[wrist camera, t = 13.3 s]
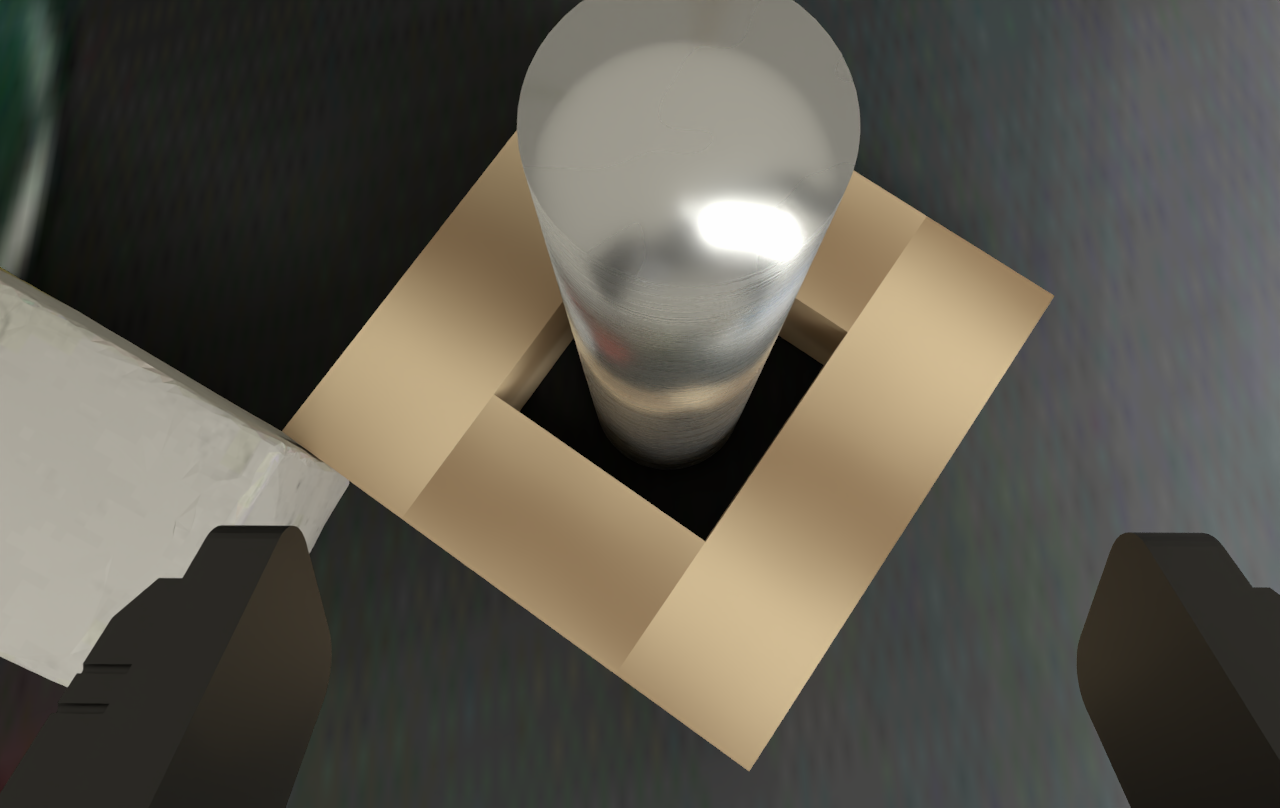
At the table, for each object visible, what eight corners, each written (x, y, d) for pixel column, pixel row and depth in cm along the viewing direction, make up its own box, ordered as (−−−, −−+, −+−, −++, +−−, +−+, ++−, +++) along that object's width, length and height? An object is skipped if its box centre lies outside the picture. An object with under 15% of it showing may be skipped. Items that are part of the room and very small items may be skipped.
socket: (611, 83, 26) (606, 15, 23) (1005, 333, 24) (1054, 295, 21) (327, 452, 24) (281, 431, 21) (736, 749, 22) (749, 771, 19)
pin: (649, 299, 24) (645, -90, 11) (769, 379, 24) (925, 79, 10) (565, 415, 24) (448, 161, 10) (687, 499, 23) (735, 351, 10)
